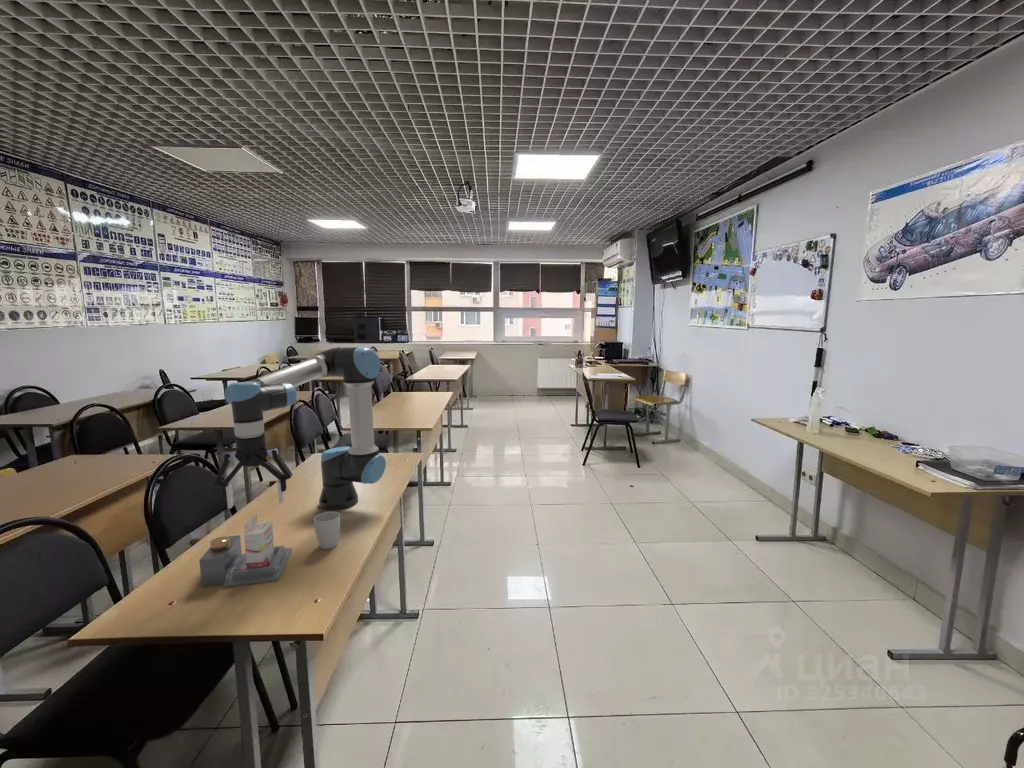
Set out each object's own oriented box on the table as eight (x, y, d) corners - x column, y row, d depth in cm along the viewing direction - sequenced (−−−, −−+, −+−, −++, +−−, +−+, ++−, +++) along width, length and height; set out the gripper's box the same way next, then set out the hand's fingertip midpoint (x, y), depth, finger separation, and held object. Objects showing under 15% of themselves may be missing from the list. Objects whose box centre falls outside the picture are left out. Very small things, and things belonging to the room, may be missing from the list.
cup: (346, 541, 152) (345, 513, 151) (329, 552, 144) (328, 523, 143) (327, 537, 155) (325, 510, 153) (309, 548, 147) (308, 519, 146)
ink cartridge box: (264, 571, 131) (260, 523, 130) (246, 572, 131) (242, 524, 129) (275, 556, 140) (272, 511, 138) (258, 557, 139) (255, 512, 137)
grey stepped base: (292, 550, 146) (290, 521, 144) (278, 580, 128) (275, 547, 127) (222, 558, 141) (220, 528, 139) (198, 590, 123) (195, 556, 122)
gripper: (299, 428, 137) (304, 495, 140) (206, 434, 131) (214, 503, 134) (293, 434, 130) (299, 504, 133) (195, 441, 124) (203, 514, 127)
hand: (256, 504), depth 133 cm, fingers open, 13 cm apart
